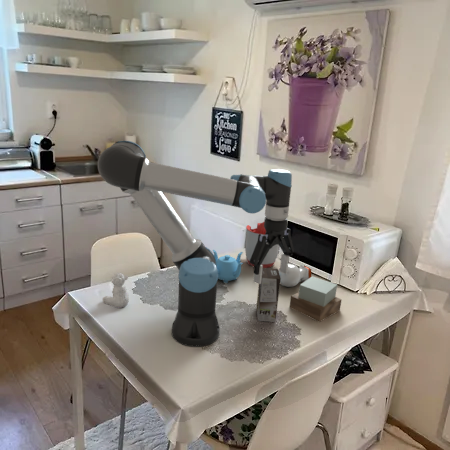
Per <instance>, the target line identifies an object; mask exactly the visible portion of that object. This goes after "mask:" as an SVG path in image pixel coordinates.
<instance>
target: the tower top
mask: <svg viewBox="0 0 450 450" xmlns="http://www.w3.org/2000/svg"><path fill="white" fill-rule="evenodd" d="M337 288H338V284H336V283H333V282H331V281H327V280H325V279H322V278H319V277H315V276H311V278H309V279H308V280H306V281H302V283H300V285H299V290H298V292H299V295H298V298H301V299H304V300H307V301H309V302H312V303H315V304H318V305H320V306H323V307H324V306H326V305H327V304H328V303H329V302H330V301H331V300H333V299H334V298H335V297H337V296H336V295H337Z"/></svg>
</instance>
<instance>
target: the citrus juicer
mask: <svg viewBox="0 0 450 450" xmlns="http://www.w3.org/2000/svg"><path fill="white" fill-rule="evenodd" d="M256 225H257V226H256V227H255V228H252V226H251V225H250V224H249V225H246V227H245V228H246V231H245V232H246V233H245V245H244V246H245V247H244V248H245V249H244V251H245V258H246V261H247V263H248V265H249V266H252V267H254V265H253V264H251V263H250V259H251V256H252V254H253V251H254V249H255V246H256V244H257V241H258V235H259V234H261V235H265V233H266V230H265V228H264V221H263V222H257V224H256ZM266 244H268V243H266ZM279 248H280V246H279V245H275V246H273V247H272V248H271V249H270V250H269V251H268V253H267V255H266V257H265V258H264V260H263V262H262V264H261V265H263V268H272V267H273V266H274V265H275V263H276V261H277V260H276V259H277V258H278V254H279ZM258 262H259V261H258Z"/></svg>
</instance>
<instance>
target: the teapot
mask: <svg viewBox="0 0 450 450" xmlns="http://www.w3.org/2000/svg"><path fill="white" fill-rule="evenodd" d="M212 253H213V254H214V256H215V259H216V264H217V270H218V280H220V281H222V283H224V284H228V283H229V281H237V280H238V279H237V278H238V277H239V276H240V275H241V273H242V265H243V264H244V262H241V256H242V255H243V254H244V252H243V251H240V252H239V253H238V255H237V257H236V258H235V257H233V256H231V255H229V254H225V255H223V256H220V257H218V252H217V251H216V250H215V249H212Z"/></svg>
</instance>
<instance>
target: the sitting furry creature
mask: <svg viewBox="0 0 450 450" xmlns="http://www.w3.org/2000/svg"><path fill="white" fill-rule="evenodd" d="M128 278H129V276H128V275H124V274H123V273H121V272H117V273H114V276H112V277H111V280H110V281H111V283H112V285H113V288H112V291H111V293H112V296H110V295H105V296H103V297H102V302H103V303H104V304H105V305H108V306H111V307H114V308H117V309H118V308H119V309H121V308H122V309H123V308H125V307H126V306H127V305H128V304H129V301H130V298H129V293H128V292H127V289H126V286H125V285H124V284H125V282H126V280H128Z"/></svg>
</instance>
